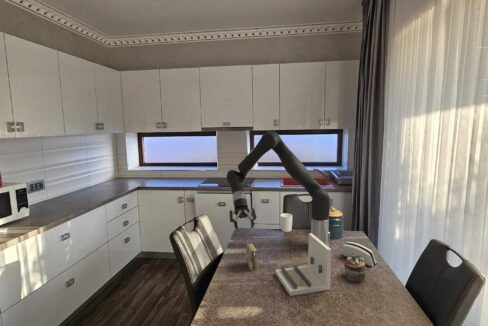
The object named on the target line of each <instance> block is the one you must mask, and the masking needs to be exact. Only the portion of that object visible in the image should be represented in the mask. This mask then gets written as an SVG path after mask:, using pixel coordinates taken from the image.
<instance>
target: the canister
mask: <svg viewBox="0 0 488 326" xmlns="http://www.w3.org/2000/svg"><path fill="white" fill-rule="evenodd" d="M344 219H345V217H344V215H343V213H342V211H340V210H337V209H336V208H335V207H331V208H330V210H329V232H330V240H340V239H342V238H344V237H343V236H344V224H345V222H344Z"/></svg>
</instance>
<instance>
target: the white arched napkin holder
mask: <svg viewBox="0 0 488 326" xmlns="http://www.w3.org/2000/svg"><path fill="white" fill-rule="evenodd" d="M352 254H354V255H355V256H362V258H364V260H363V261H364V263H365V265H366V264H367V266H369V267H371V266H372V268H373V267H375V265H377V264H378V261H377V260H376V257H375V254H374V252H373V250H371V249H370V248H368V247H367V246H364V245H363V244H360V243H357V242H352V241H346V242H345V243H344V244H343V245H342V255H343V256H345V257H346V258H348V257H349V256H351V255H352ZM376 263H377V264H376Z"/></svg>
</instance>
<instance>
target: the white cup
mask: <svg viewBox="0 0 488 326" xmlns="http://www.w3.org/2000/svg"><path fill="white" fill-rule="evenodd" d="M279 219H280V230H281V231H282V232H284V233H285V232H286V233H288V232H289V233H290V232H291V231H292V227H293V214H292V213H287V212H286V213H281V214H280V216H279Z"/></svg>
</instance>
